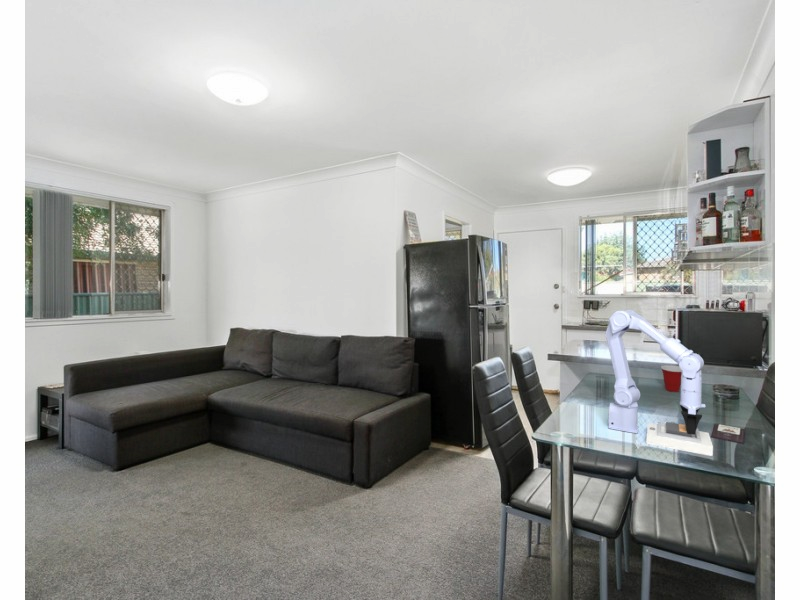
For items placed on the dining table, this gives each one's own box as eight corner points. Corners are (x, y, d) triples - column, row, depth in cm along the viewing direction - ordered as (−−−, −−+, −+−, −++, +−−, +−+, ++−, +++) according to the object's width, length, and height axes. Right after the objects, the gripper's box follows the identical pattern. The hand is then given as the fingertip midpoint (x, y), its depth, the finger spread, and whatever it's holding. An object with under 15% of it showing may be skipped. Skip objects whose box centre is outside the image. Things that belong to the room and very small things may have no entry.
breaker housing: (646, 443, 142) (646, 431, 141) (647, 430, 154) (648, 419, 154) (712, 456, 132) (713, 443, 132) (708, 441, 145) (708, 429, 145)
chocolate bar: (710, 436, 149) (714, 423, 162) (710, 438, 149) (714, 425, 162) (743, 442, 143) (744, 429, 156) (743, 445, 143) (744, 431, 156)
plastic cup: (658, 390, 213) (659, 367, 212) (660, 386, 221) (661, 364, 221) (684, 394, 206) (685, 370, 206) (685, 390, 215) (686, 367, 214)
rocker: (666, 435, 141) (666, 428, 141) (665, 427, 149) (666, 421, 149) (691, 439, 137) (691, 433, 137) (689, 431, 145) (690, 425, 145)
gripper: (707, 396, 132) (706, 439, 133) (703, 387, 145) (703, 426, 145) (680, 393, 136) (680, 434, 137) (679, 384, 148) (678, 422, 149)
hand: (690, 430), depth 141 cm, fingers open, 7 cm apart
